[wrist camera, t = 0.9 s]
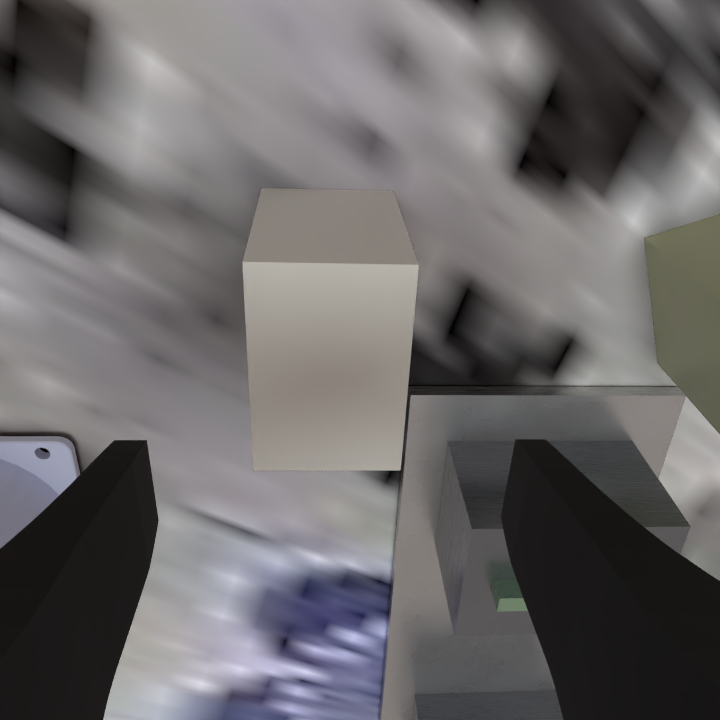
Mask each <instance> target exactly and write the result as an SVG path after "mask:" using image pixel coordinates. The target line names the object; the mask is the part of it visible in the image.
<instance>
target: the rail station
mask: <svg viewBox="0 0 720 720" xmlns="http://www.w3.org/2000/svg"><path fill="white" fill-rule="evenodd" d="M685 397H686V395H685V394H684V393H683V392H682V391H681V390H680V388H679V387H548V386H409V389H408V401H407V412H406V423H405V434H404V445H403V457H402V468H401V479H400V490H399V501H398V513H397V524H396V535H395V546H394V557H393V569H392V580H391V591H390V602H389V613H388V625H387V636H386V647H385V658H384V670H383V681H382V692H381V703H380V714H379V720H563V716H562V712H561V709H560V705H559V701H558V697H557V693H556V689H555V686H554V683H553V679H552V676H551V673H550V670H549V667H548V664H547V661H546V658H545V656H544V653H543V650H542V648H541V645H540V642H539V639H538V637H537V634H536V631H535V629H534V626H533V623H532V620H531V618H530V615H529V612H528V610H527V607H526V604H525V601H524V599H523V596H522V593H521V590H520V588H519V585H518V582H517V579H516V577H515V574H514V571H513V568H512V565H511V562H510V558H509V553H508V549H507V545H506V541H505V536H504V531H503V526H502V521H501V512H502V507H503V501H504V496H505V491H506V486H507V481H508V475H509V470H510V465H511V460H512V454H513V449H514V444H515V439H546V440H547V441H548V442H549V443H550V444H551V445H553V446H554V447H555V448H556V449H557V450H558V451H559V452H560V453H561V454H562V455H563V456H564V457H566V458H567V459H568V460H569V461H570V462H571V463H572V464H573V465H574V466H575V467H576V468H577V469H578V470H579V471H580V472H582V473H583V474H584V475H585V476H586V477H587V478H588V479H589V480H590V481H591V482H592V483H593V484H594V485H596V486H597V487H598V488H599V489H600V490H601V491H602V492H603V493H604V494H606V495H607V496H608V497H609V498H610V499H611V500H612V501H613V502H615V503H616V504H617V505H618V506H619V507H620V508H622V509H623V510H624V511H625V512H626V513H628V514H629V515H630V516H631V517H632V518H633V519H635V520H636V521H637V522H638V523H640V524H641V525H642V526H643V527H645V528H646V529H647V530H648V531H650V532H651V533H652V534H654V535H655V536H656V537H657V538H659V539H660V540H661V541H662V542H664V543H665V544H666V545H668V546H669V547H671V548H672V549H673V550H675V551H676V552H677V553H679V554H680V553H681V550H682V548H683V545H684V542H685V540H686V537H687V534H688V532H689V529H690V525H689V524H688V522H687V521H686V519H685V518H684V516H683V515H682V513H681V512H680V510H679V509H678V507H677V506H676V504H675V503H674V501H673V500H672V498H671V497H670V496H669V494H668V493H667V491H666V490H665V488H664V487H663V485H662V484H661V482H660V481H659V479H658V478H659V475H660V472H661V469H662V466H663V463H664V460H665V457H666V454H667V451H668V448H669V445H670V442H671V439H672V436H673V433H674V430H675V427H676V424H677V421H678V418H679V415H680V412H681V409H682V406H683V403H684V400H685Z"/></svg>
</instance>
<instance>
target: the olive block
mask: <svg viewBox="0 0 720 720" xmlns="http://www.w3.org/2000/svg"><path fill="white" fill-rule="evenodd" d="M644 239H645V249H646V258H647V268H648V277H649V287H650V296H651V306H652V315H653V324H654V334H655V343H656V353H657V362H658V364H659V366H660V367H661V368H662V369H663V370H664V371H665V372H666V374H667V375H668V376H669V377H670V378H671V379H672V380H673V382H674V383H675V384H676V385H677V386H678V387H679V388H680V390H681V391H682V392H683V393H684V394H685V395H686V396H687V398H688V399H689V400H690V401H691V402H692V403H693V404H694V405H695V407H696V408H697V409H698V410H699V411H700V412H701V413H702V415H703V416H704V417H705V418H706V419H707V420H708V421H709V423H710V424H711V425H712V426H713V427H714V428H715V429H716V431H717V432H718V433H719V434H720V214H719V215H716V216H713V217H710V218H706V219H703V220H700V221H697V222H694V223H690V224H687V225H684V226H681V227H677V228H674V229H671V230H668V231H665V232H661V233H658V234H655V235H652V236H649V237H645V238H644Z"/></svg>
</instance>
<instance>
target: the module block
mask: <svg viewBox="0 0 720 720" xmlns="http://www.w3.org/2000/svg"><path fill="white" fill-rule="evenodd" d="M242 264H243V283H244V303H245V322H246V342H247V361H248V381H249V400H250V420H251V439H252V459H253V471H355V470H401V461H402V449H403V438H404V427H405V416H406V404H407V393H408V382H409V371H410V359H411V348H412V337H413V326H414V315H415V303H416V292H417V281H418V270H419V264H418V261H417V258H416V255H415V252H414V249H413V246H412V243H411V240H410V238H409V235H408V232H407V229H406V226H405V223H404V220H403V217H402V214H401V212H400V209H399V206H398V203H397V200H396V197H395V194H394V191H369V190H326V189H283V188H261V192H260V196H259V200H258V204H257V208H256V211H255V215H254V219H253V223H252V227H251V231H250V235H249V238H248V242H247V246H246V250H245V254H244V258H243V262H242Z"/></svg>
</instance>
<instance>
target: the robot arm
mask: <svg viewBox="0 0 720 720" xmlns="http://www.w3.org/2000/svg"><path fill="white" fill-rule="evenodd" d="M40 448H45V449H47V450H49V453H47V452H43V451H42V450H40ZM501 521H502V526H503V531H504V536H505V541H506V545H507V549H508V553H509V558H510V562H511V565H512V568H513V571H514V574H515V577H516V579H517V582H518V585H519V588H520V590H521V593H522V596H523V599H524V601H525V604H526V607H527V610H528V612H529V615H530V618H531V620H532V623H533V626H534V629H535V631H536V634H537V637H538V639H539V642H540V645H541V648H542V650H543V653H544V656H545V658H546V661H547V664H548V667H549V670H550V673H551V676H552V679H553V683H554V686H555V689H556V693H557V697H558V701H559V705H560V709H561V712H562V716H563V720H720V581H719V580H717V579H716V578H714V577H713V576H711V575H709V574H708V573H706V572H705V571H704V570H702V569H701V568H699V567H698V566H696V565H695V564H693V563H692V562H690V561H689V560H688V559H686V558H685V557H683V556H682V555H680V554H679V553H677V552H676V551H675V550H673V549H672V548H671V547H669V546H668V545H666V544H665V543H664V542H662V541H661V540H660V539H659V538H657V537H656V536H655V535H654V534H652V533H651V532H650V531H648V530H647V529H646V528H645V527H643V526H642V525H641V524H640V523H638V522H637V521H636V520H635V519H633V518H632V517H631V516H630V515H629V514H628V513H626V512H625V511H624V510H623V509H622V508H620V507H619V506H618V505H617V504H616V503H615V502H613V501H612V500H611V499H610V498H609V497H608V496H607V495H606V494H604V493H603V492H602V491H601V490H600V489H599V488H598V487H597V486H596V485H594V484H593V483H592V482H591V481H590V480H589V479H588V478H587V477H586V476H585V475H584V474H583V473H582V472H580V471H579V470H578V469H577V468H576V467H575V466H574V465H573V464H572V463H571V462H570V461H569V460H568V459H567V458H566V457H564V456H563V455H562V454H561V453H560V452H559V451H558V450H557V449H556V448H555V447H554V446H553V445H551V444H550V443H549V442H548V441H547V440H546V439H515V444H514V449H513V454H512V460H511V465H510V470H509V475H508V481H507V486H506V491H505V496H504V501H503V507H502V512H501ZM157 526H158V514H157V507H156V500H155V493H154V487H153V480H152V473H151V466H150V460H149V453H148V446H147V440H114V441H113V442H112V443H111V444H110V445H109V446H108V447H107V448H106V449H105V450H104V451H103V452H102V453H101V454H100V455H99V456H98V457H97V458H96V459H95V460H94V461H93V462H92V463H91V464H90V465H89V466H88V467H87V468H86V469H85V470H84V471H83V472H82V473H81V474H80V471H79V466H78V462H77V457H76V452H75V448H74V445H73V443H72V442H71V441H70V440H68V439H66V438H64V437H59V436H0V720H103V718H104V713H105V709H106V704H107V700H108V696H109V693H110V689H111V686H112V682H113V679H114V675H115V672H116V669H117V666H118V663H119V660H120V657H121V654H122V651H123V648H124V645H125V642H126V639H127V636H128V633H129V630H130V627H131V624H132V621H133V618H134V615H135V612H136V609H137V606H138V603H139V599H140V596H141V593H142V590H143V587H144V584H145V581H146V578H147V575H148V571H149V568H150V563H151V558H152V553H153V548H154V543H155V537H156V532H157Z"/></svg>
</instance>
